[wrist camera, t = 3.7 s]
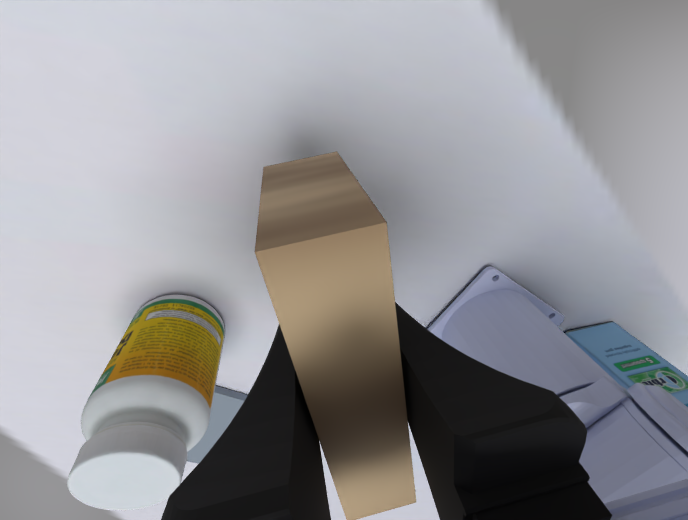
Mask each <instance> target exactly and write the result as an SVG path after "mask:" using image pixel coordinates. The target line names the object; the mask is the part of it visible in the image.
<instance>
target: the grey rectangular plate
mask: <svg viewBox="0 0 688 520" xmlns="http://www.w3.org/2000/svg"><path fill="white" fill-rule="evenodd" d="M247 396H248V395H246V394H243V393H239V392H236V391H232V390H229V389H226V388H222V387H219V386H216V385H215V391H214V397H213V402H212V409H211V414H210V420H209V424H208V427H207V430H206V432H205V434H204V435H203V437H202V438H201V440H200V441H199V442H198V443H197V444H196V445H195V446H194V447H193V448H192V449H191V450H189V451H188V452H187V454H188V456H187V461H189V462H194V463H200V462H201V461H202V459H203V458H204V457H205V456H206V454H207V453H208V452H209V451H210V449H211V448H212V447H213V445H214V444H215V443H216V442H217V440H218V439H219V438H220V436H221V435H222V434H223V432H224V431H225V430H226V428H227V427H228V425H229V424H230V423H231V421H232V420H233V418H234V417H235V415H236V413H237V412H238V410H239V409H240V407H241V406H242V404H243V403H244V401H245V399H246V397H247Z"/></svg>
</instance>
